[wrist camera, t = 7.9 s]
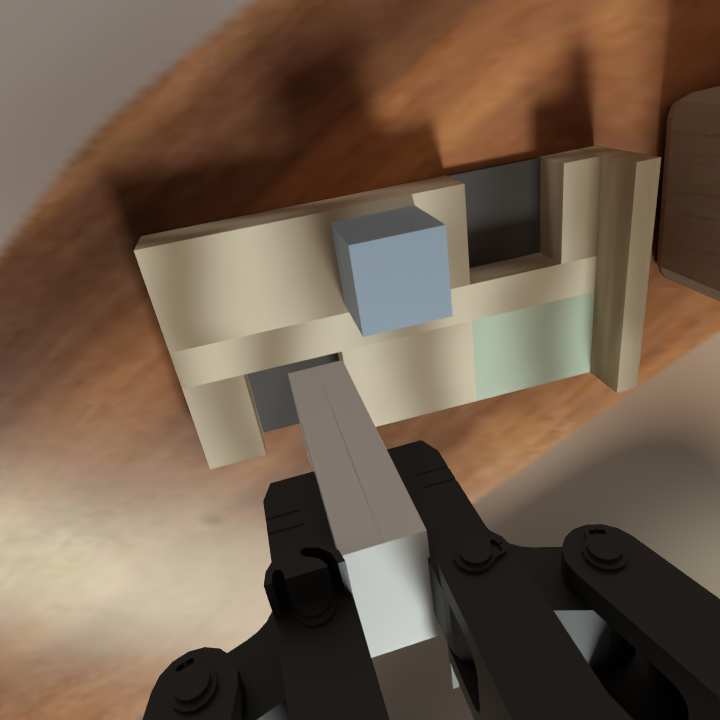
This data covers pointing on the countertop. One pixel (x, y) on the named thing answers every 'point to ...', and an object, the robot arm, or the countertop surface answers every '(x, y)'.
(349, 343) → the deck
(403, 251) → the cube
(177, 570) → the countertop surface
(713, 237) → the block
